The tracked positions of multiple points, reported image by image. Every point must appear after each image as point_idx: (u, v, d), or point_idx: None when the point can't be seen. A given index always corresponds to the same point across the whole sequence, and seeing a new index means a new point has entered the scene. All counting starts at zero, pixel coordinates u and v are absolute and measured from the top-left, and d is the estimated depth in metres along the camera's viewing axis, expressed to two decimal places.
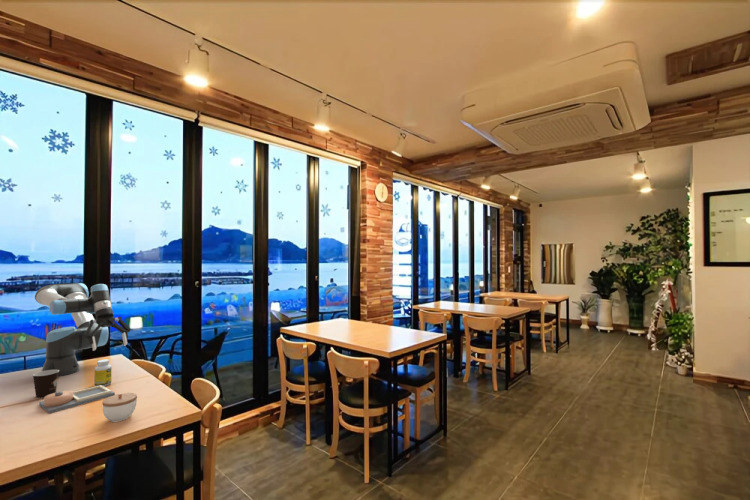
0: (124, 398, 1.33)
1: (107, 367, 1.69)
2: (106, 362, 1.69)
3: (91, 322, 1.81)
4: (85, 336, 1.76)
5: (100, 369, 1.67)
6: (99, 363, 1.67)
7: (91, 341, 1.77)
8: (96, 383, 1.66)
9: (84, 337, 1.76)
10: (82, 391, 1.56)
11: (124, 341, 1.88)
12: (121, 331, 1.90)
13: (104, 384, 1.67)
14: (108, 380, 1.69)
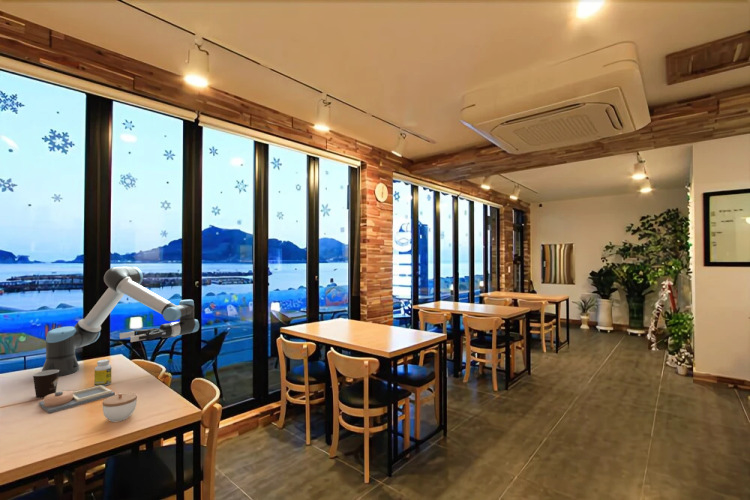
0: (124, 398, 1.33)
1: (107, 367, 1.69)
2: (106, 362, 1.69)
3: None
4: (149, 338, 1.78)
5: (100, 369, 1.67)
6: (99, 363, 1.67)
7: None
8: (96, 383, 1.66)
9: (150, 336, 1.78)
10: (82, 391, 1.56)
11: (124, 335, 1.83)
12: (137, 332, 1.88)
13: (104, 384, 1.67)
14: (108, 380, 1.69)
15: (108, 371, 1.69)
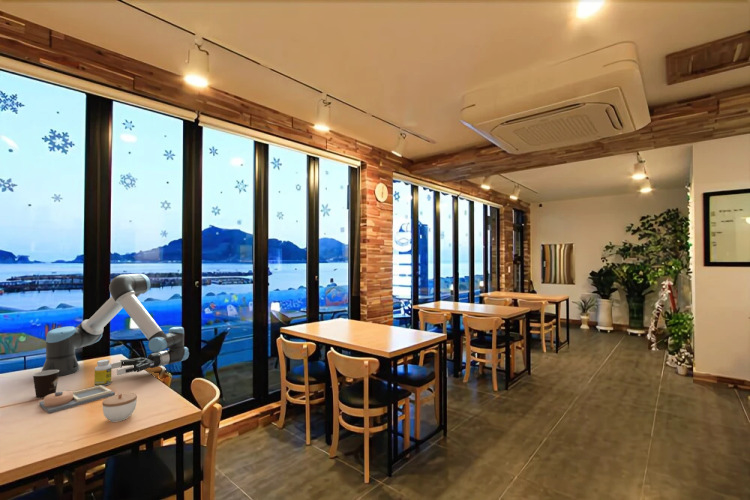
0: (124, 398, 1.33)
1: (107, 367, 1.69)
2: (106, 362, 1.69)
3: None
4: (137, 371, 1.72)
5: (100, 369, 1.67)
6: (99, 363, 1.67)
7: None
8: (96, 383, 1.66)
9: (137, 369, 1.72)
10: (82, 391, 1.56)
11: None
12: (124, 362, 1.82)
13: (104, 384, 1.67)
14: (108, 380, 1.69)
15: (108, 371, 1.69)
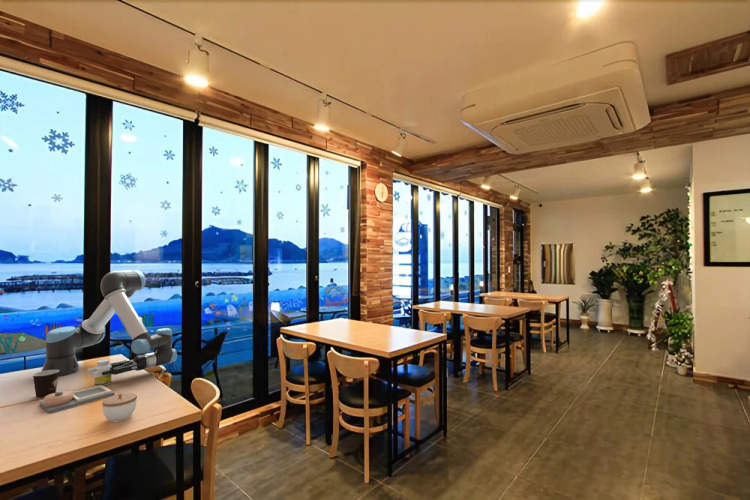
0: (124, 398, 1.33)
1: (107, 367, 1.69)
2: (106, 362, 1.69)
3: None
4: (114, 374, 1.68)
5: (100, 368, 1.67)
6: (99, 363, 1.67)
7: None
8: (96, 383, 1.66)
9: (114, 371, 1.68)
10: (82, 391, 1.56)
11: (92, 371, 1.69)
12: None
13: (104, 384, 1.67)
14: (108, 380, 1.69)
15: None
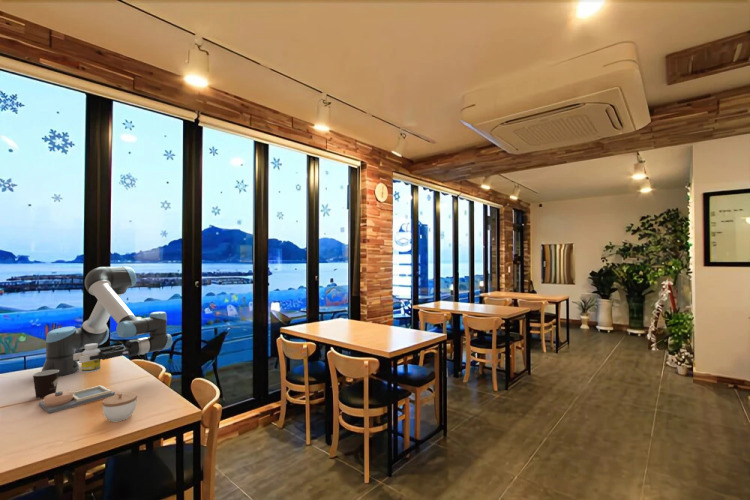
0: (124, 398, 1.33)
1: (95, 351, 1.54)
2: (94, 346, 1.54)
3: None
4: (103, 359, 1.53)
5: (88, 353, 1.52)
6: (87, 347, 1.53)
7: None
8: (83, 369, 1.52)
9: (103, 356, 1.53)
10: (82, 391, 1.56)
11: (79, 356, 1.54)
12: None
13: (92, 370, 1.53)
14: (97, 366, 1.55)
15: None
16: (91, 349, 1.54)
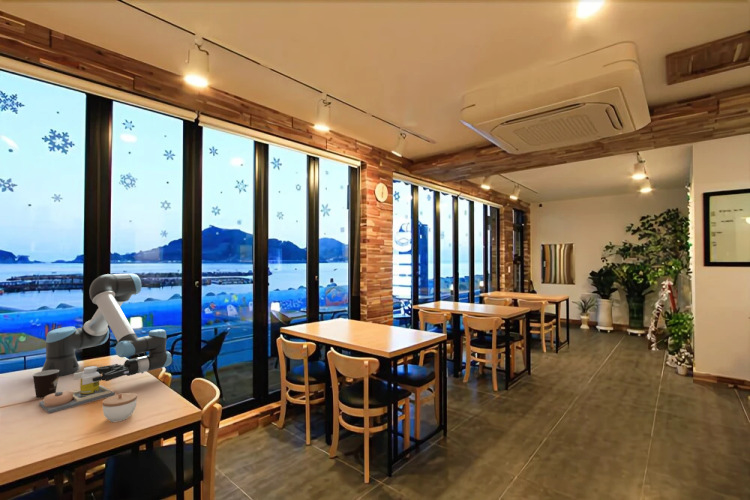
0: (124, 398, 1.33)
1: (94, 375, 1.54)
2: (93, 369, 1.54)
3: None
4: (105, 380, 1.52)
5: (87, 376, 1.52)
6: (86, 370, 1.53)
7: None
8: (82, 392, 1.52)
9: (106, 377, 1.52)
10: None
11: (79, 376, 1.56)
12: None
13: (91, 393, 1.53)
14: (96, 389, 1.54)
15: None
16: (90, 372, 1.53)
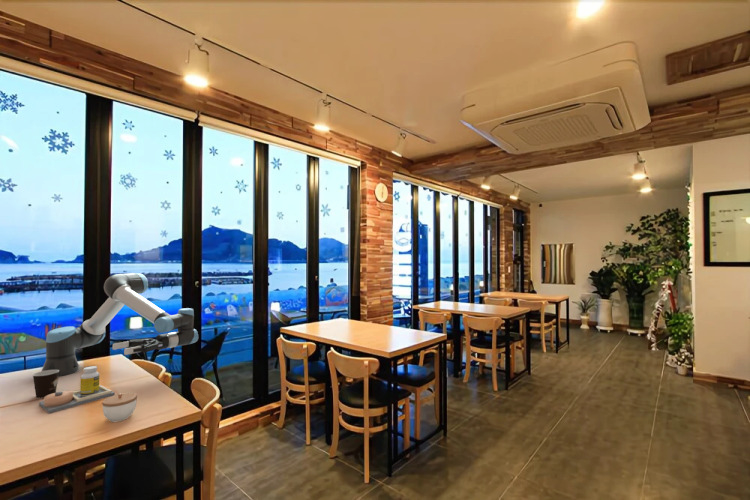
0: (124, 398, 1.33)
1: (94, 375, 1.54)
2: (93, 369, 1.54)
3: None
4: (145, 351, 1.65)
5: (86, 376, 1.52)
6: (85, 370, 1.53)
7: None
8: (82, 392, 1.52)
9: (145, 349, 1.65)
10: None
11: (117, 346, 1.70)
12: (132, 343, 1.75)
13: (91, 393, 1.53)
14: (96, 389, 1.54)
15: (95, 379, 1.54)
16: (90, 372, 1.53)
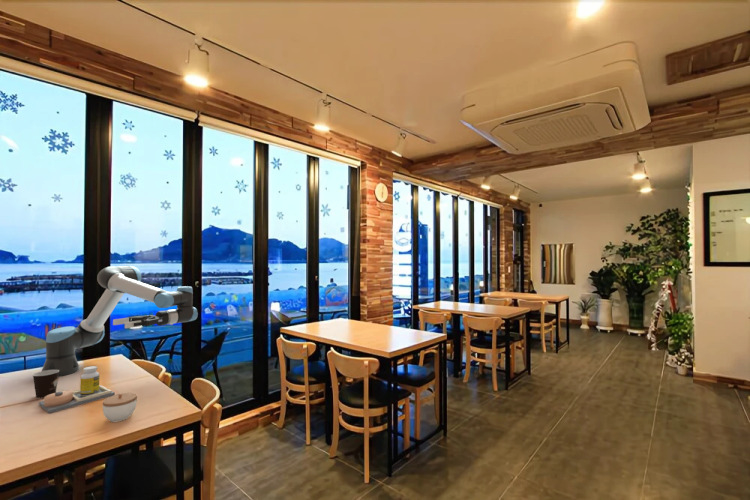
0: (124, 398, 1.33)
1: (94, 375, 1.54)
2: (93, 369, 1.54)
3: None
4: (145, 325, 1.67)
5: (86, 377, 1.52)
6: (85, 370, 1.53)
7: (136, 325, 1.66)
8: (82, 392, 1.51)
9: (145, 323, 1.67)
10: None
11: (118, 322, 1.72)
12: (132, 319, 1.77)
13: (91, 393, 1.53)
14: (96, 389, 1.54)
15: (95, 379, 1.54)
16: (90, 372, 1.53)
